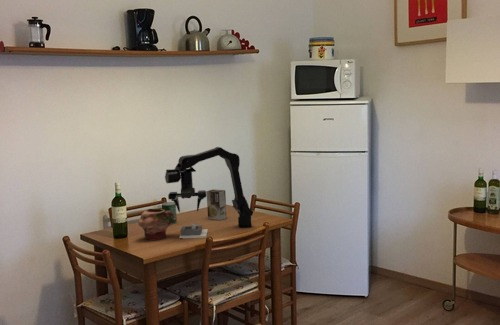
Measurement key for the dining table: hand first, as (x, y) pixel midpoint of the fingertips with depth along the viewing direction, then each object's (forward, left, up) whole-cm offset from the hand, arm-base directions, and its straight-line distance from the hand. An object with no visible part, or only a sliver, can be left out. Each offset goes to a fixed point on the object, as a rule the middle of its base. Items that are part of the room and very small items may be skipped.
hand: (188, 211), depth 278 cm
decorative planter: (+16, +4, -12) cm, 20 cm away
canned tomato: (+14, -26, -12) cm, 31 cm away
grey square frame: (-1, +2, -11) cm, 11 cm away
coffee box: (-12, -33, -12) cm, 37 cm away
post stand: (-2, +2, -12) cm, 12 cm away
